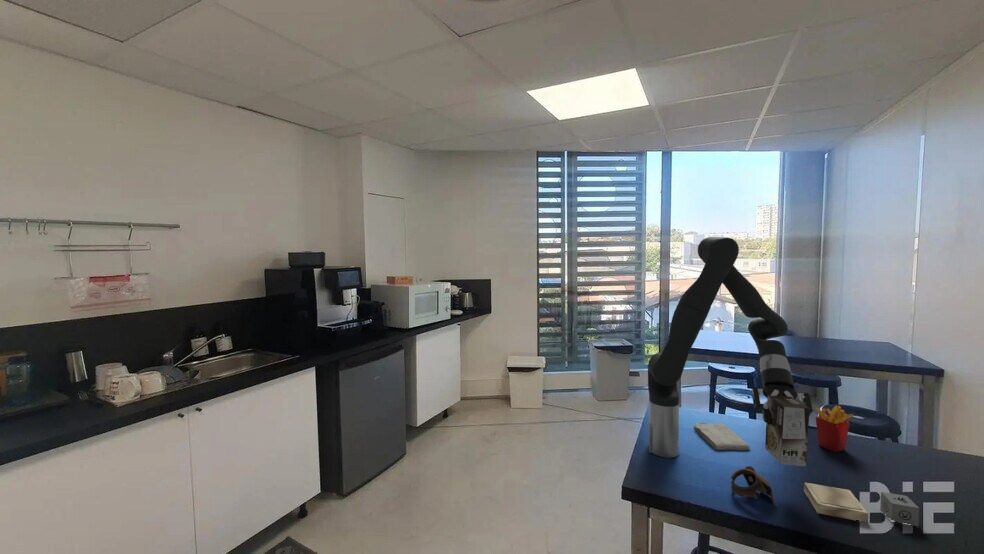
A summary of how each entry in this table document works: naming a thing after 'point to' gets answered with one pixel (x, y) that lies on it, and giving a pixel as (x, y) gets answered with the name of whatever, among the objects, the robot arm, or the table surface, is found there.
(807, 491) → the riser
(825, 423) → the french fries
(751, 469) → the pottery mug
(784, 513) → the table surface
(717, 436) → the washcloth
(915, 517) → the dice cube
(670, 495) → the table surface
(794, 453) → the coffee box
